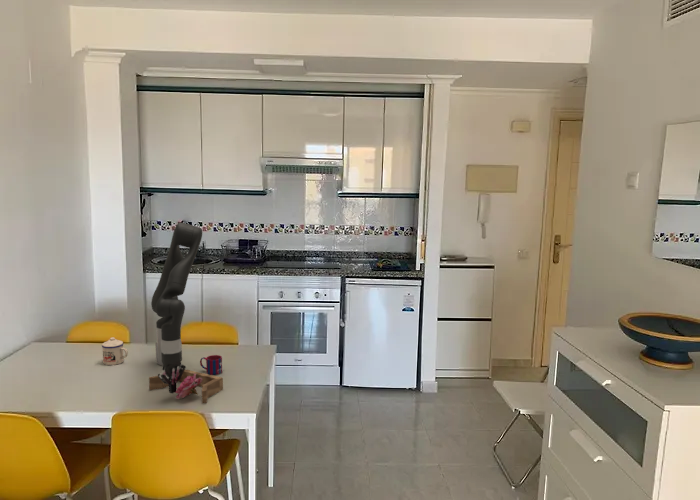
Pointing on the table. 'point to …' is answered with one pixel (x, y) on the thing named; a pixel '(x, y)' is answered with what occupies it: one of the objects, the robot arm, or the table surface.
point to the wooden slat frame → (208, 385)
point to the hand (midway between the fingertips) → (172, 392)
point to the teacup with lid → (113, 352)
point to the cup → (213, 364)
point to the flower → (188, 386)
